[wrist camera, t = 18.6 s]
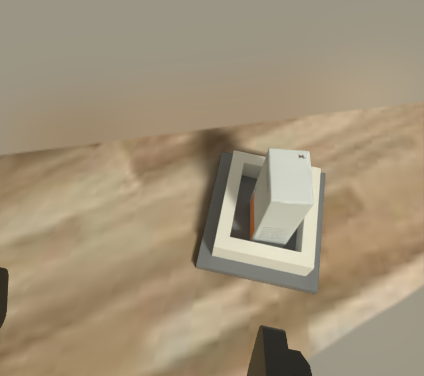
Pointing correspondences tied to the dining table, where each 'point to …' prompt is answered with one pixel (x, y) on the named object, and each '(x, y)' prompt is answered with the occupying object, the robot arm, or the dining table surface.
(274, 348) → the robot arm
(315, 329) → the dining table surface
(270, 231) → the skincare box
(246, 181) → the socket plate
